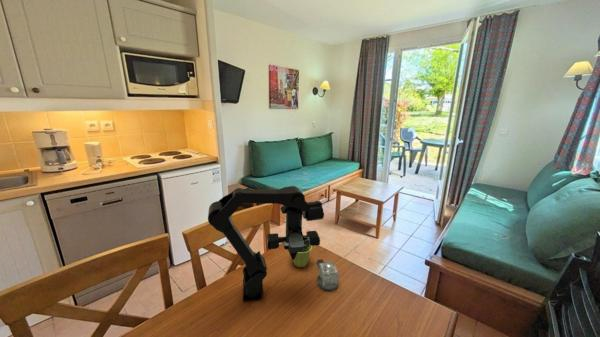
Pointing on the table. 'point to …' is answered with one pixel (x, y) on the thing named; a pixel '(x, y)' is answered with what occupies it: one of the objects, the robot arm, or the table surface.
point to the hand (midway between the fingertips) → (292, 259)
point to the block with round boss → (328, 273)
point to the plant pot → (302, 257)
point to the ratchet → (327, 287)
